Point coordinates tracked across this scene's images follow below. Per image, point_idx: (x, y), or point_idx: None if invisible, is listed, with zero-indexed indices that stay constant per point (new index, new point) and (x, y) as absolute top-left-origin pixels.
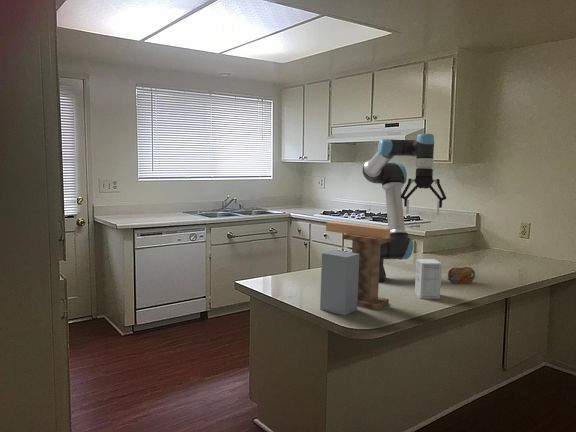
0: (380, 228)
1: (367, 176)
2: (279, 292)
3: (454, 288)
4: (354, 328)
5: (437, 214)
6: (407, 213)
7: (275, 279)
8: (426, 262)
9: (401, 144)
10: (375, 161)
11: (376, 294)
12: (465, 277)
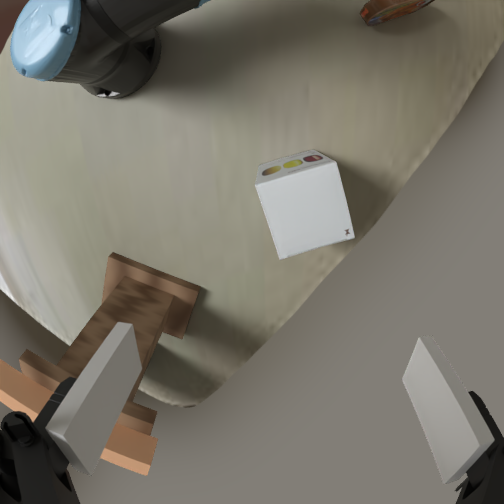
0: (122, 463)
1: None
2: (11, 277)
3: (375, 73)
4: (179, 406)
5: (406, 383)
6: (136, 371)
7: None
8: (297, 242)
9: None
10: None
11: (169, 308)
12: (408, 7)
